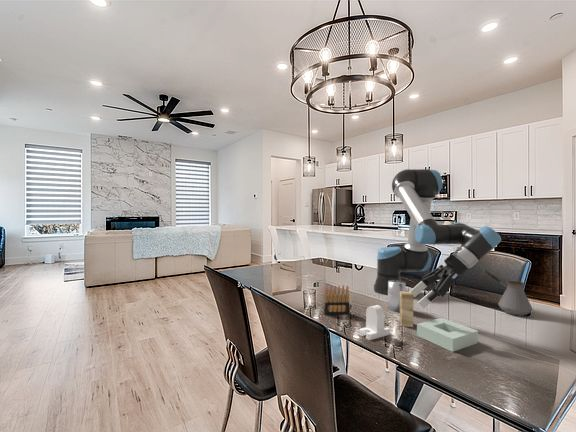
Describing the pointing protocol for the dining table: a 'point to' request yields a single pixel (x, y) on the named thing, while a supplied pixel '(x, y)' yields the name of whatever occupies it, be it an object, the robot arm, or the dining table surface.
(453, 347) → the socket block
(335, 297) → the ammunition clip
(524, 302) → the coffee pot
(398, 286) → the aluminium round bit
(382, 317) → the cable organizer
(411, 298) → the oak square bit
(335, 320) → the dining table surface
